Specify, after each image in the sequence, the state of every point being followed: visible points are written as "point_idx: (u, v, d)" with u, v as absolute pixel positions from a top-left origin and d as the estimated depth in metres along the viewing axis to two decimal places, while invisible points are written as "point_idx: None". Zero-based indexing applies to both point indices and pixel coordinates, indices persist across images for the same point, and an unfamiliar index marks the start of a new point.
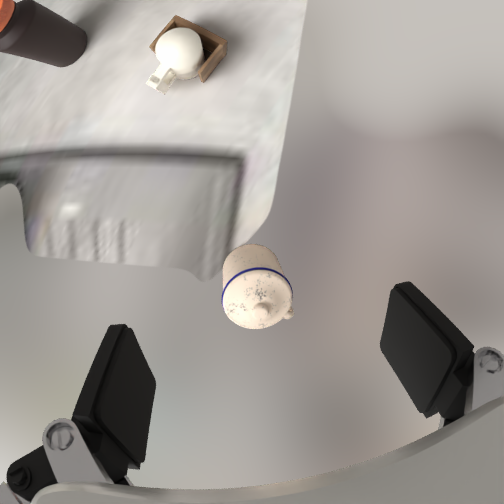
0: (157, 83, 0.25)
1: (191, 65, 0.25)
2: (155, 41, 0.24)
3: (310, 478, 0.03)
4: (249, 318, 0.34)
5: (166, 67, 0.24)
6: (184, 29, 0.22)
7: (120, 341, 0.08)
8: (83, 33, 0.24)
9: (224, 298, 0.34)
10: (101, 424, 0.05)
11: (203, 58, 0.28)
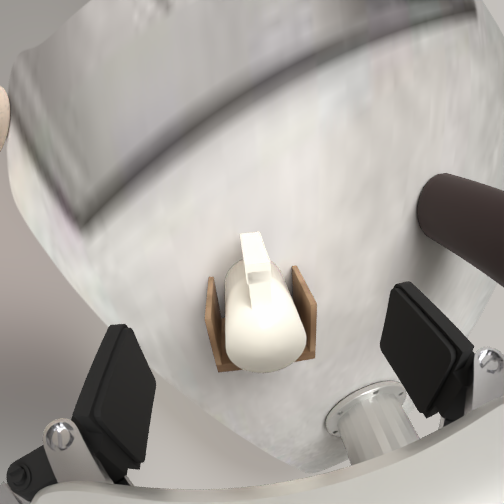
0: (248, 274, 0.15)
1: (226, 323, 0.18)
2: (313, 315, 0.18)
3: (310, 478, 0.03)
4: None
5: (257, 305, 0.16)
6: (279, 367, 0.17)
7: (120, 341, 0.08)
8: (433, 239, 0.22)
9: None
10: (101, 424, 0.05)
11: None
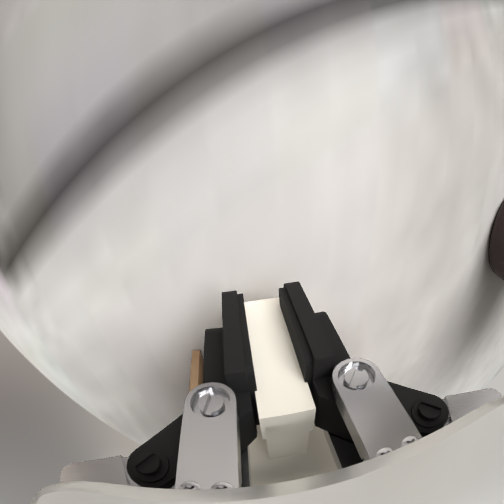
0: (267, 429, 0.06)
1: None
2: None
3: (310, 478, 0.03)
4: None
5: (279, 455, 0.07)
6: None
7: (241, 304, 0.09)
8: (503, 278, 0.13)
9: None
10: (251, 380, 0.06)
11: None
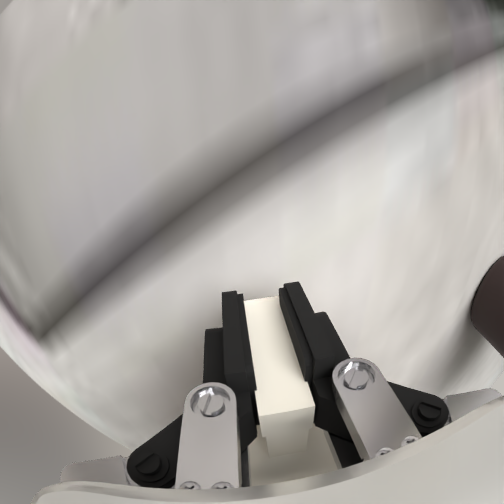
0: (267, 426, 0.06)
1: None
2: None
3: (310, 478, 0.03)
4: None
5: (279, 453, 0.07)
6: None
7: (241, 304, 0.09)
8: (482, 334, 0.15)
9: None
10: (251, 380, 0.06)
11: None
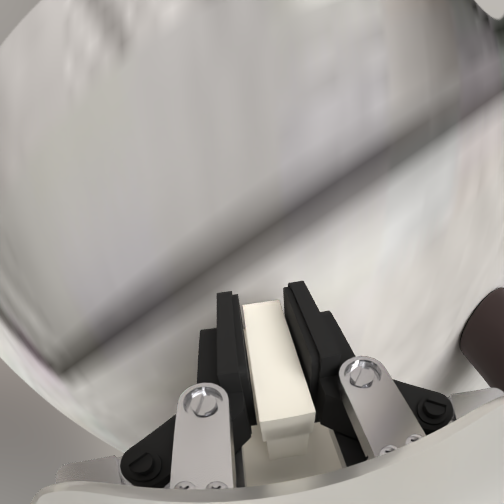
0: (268, 431, 0.06)
1: None
2: None
3: (310, 478, 0.03)
4: None
5: (280, 457, 0.07)
6: None
7: (235, 305, 0.09)
8: None
9: None
10: (244, 381, 0.06)
11: None
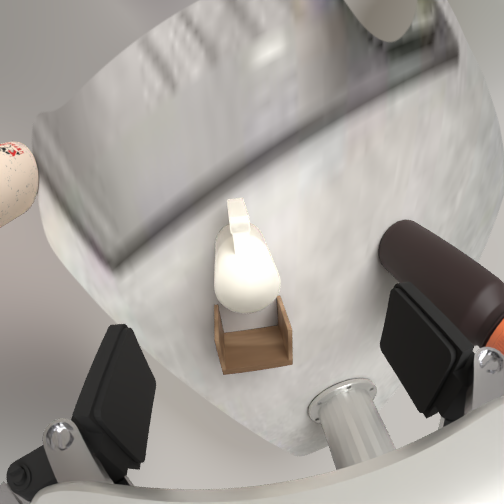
0: (232, 225, 0.20)
1: (215, 269, 0.22)
2: (289, 336, 0.26)
3: (310, 478, 0.03)
4: None
5: (239, 251, 0.21)
6: (259, 308, 0.22)
7: (120, 341, 0.08)
8: None
9: None
10: (101, 424, 0.05)
11: None
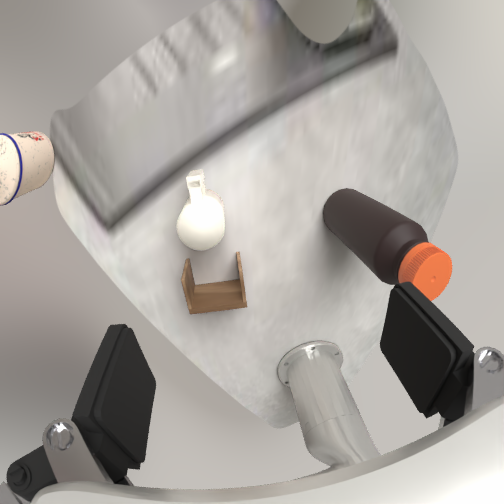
0: (188, 182, 0.27)
1: None
2: (241, 279, 0.34)
3: (310, 478, 0.03)
4: None
5: (194, 201, 0.28)
6: (210, 246, 0.29)
7: (120, 341, 0.08)
8: None
9: (12, 147, 0.21)
10: (101, 424, 0.05)
11: None
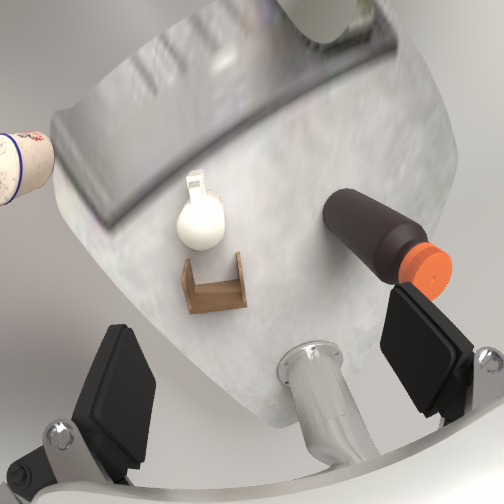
0: (188, 182, 0.27)
1: None
2: (241, 279, 0.34)
3: (310, 478, 0.03)
4: None
5: (194, 201, 0.28)
6: (210, 246, 0.29)
7: (120, 341, 0.08)
8: None
9: (12, 147, 0.21)
10: (101, 424, 0.05)
11: None
